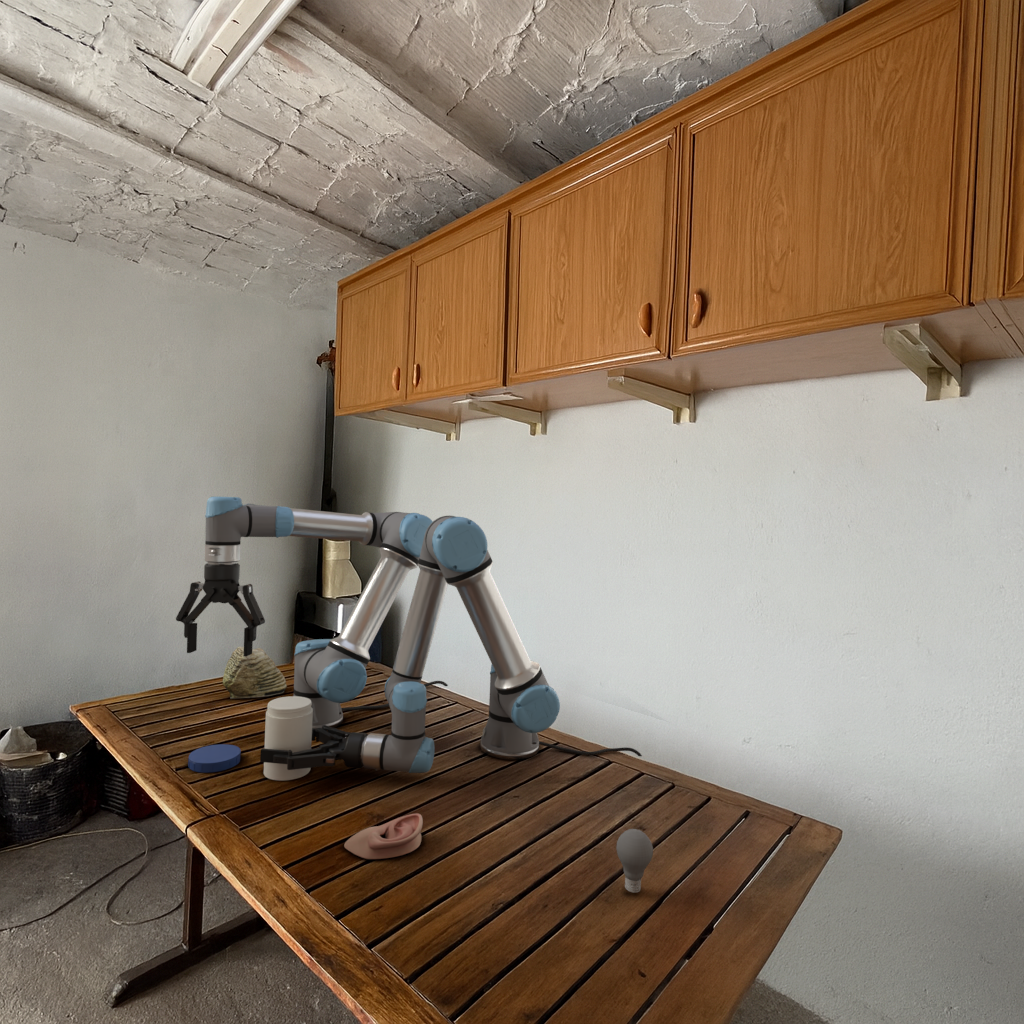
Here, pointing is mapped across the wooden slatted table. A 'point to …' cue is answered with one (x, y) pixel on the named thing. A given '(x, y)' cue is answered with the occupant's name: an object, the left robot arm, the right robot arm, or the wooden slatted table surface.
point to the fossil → (252, 675)
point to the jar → (288, 733)
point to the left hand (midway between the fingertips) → (219, 653)
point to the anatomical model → (387, 838)
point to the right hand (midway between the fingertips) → (275, 743)
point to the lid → (214, 758)
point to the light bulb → (634, 857)
